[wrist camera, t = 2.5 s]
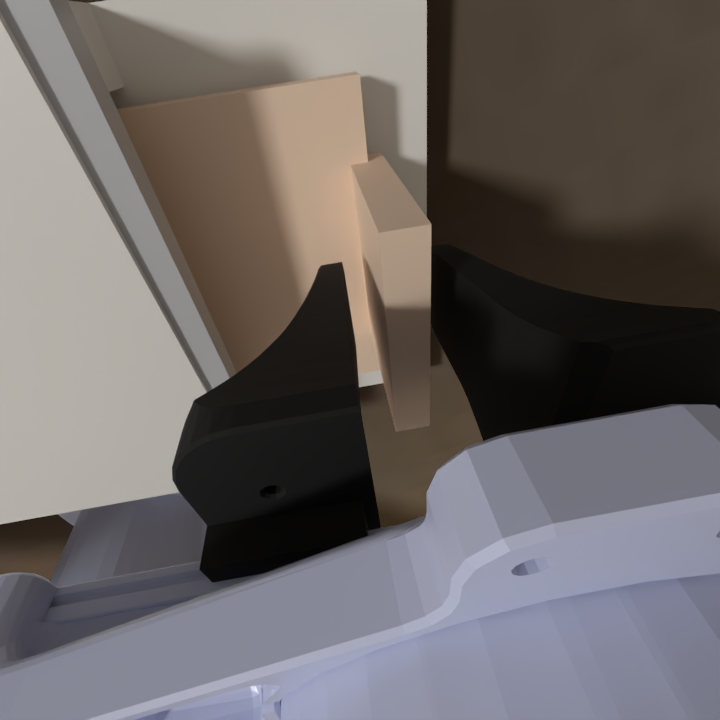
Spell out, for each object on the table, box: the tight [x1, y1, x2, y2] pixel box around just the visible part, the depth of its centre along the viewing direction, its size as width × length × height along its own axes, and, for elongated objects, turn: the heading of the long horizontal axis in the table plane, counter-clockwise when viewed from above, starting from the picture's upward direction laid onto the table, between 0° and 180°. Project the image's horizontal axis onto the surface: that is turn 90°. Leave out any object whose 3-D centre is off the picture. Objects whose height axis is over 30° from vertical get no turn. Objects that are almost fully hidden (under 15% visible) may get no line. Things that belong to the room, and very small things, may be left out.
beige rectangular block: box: [117, 71, 431, 432], centre depth 11 cm, size 10×16×6 cm, turn 97°
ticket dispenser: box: [0, 0, 427, 524], centre depth 12 cm, size 14×20×5 cm
